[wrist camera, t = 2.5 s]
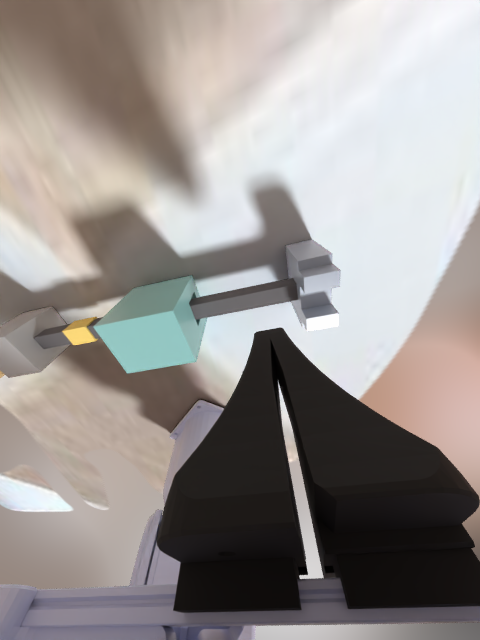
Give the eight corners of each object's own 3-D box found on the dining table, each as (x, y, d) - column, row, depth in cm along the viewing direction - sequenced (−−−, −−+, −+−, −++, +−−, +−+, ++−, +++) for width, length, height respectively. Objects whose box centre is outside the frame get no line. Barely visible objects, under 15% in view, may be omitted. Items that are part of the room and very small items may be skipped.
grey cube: (52, 306, 18) (4, 336, 15) (77, 337, 20) (40, 372, 17) (18, 313, 19) (-37, 345, 15) (46, 343, 21) (3, 378, 17)
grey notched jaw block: (312, 239, 16) (340, 259, 11) (314, 298, 18) (338, 333, 14) (285, 245, 16) (303, 267, 11) (291, 302, 18) (307, 338, 14)
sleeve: (192, 275, 16) (172, 310, 12) (207, 317, 18) (196, 361, 14) (133, 288, 17) (93, 326, 12) (155, 327, 19) (127, 373, 14)
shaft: (299, 274, 15) (304, 281, 14) (300, 292, 16) (305, 300, 15) (27, 330, 18) (12, 341, 17) (40, 343, 18) (26, 354, 17)
